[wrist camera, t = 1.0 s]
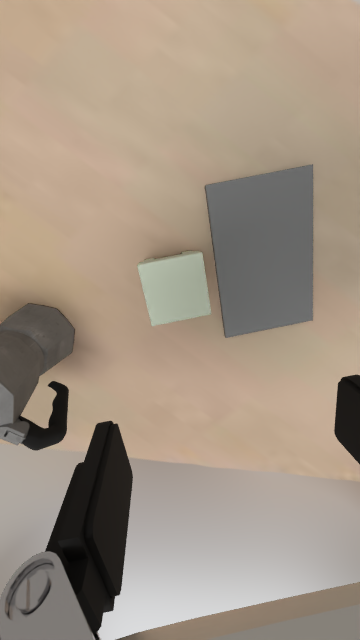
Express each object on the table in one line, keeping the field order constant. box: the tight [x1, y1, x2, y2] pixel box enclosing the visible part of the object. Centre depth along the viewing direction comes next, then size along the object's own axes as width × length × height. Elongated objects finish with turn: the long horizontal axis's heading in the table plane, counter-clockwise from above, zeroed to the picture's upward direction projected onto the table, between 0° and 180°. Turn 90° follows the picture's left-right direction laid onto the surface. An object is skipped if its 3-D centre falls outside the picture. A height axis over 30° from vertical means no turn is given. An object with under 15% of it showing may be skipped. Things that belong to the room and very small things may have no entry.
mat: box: [205, 165, 313, 338], centre depth 32 cm, size 13×20×1 cm, turn 11°
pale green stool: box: [137, 251, 211, 326], centre depth 28 cm, size 6×6×8 cm
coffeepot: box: [0, 303, 75, 450], centre depth 25 cm, size 15×9×18 cm, turn 54°
